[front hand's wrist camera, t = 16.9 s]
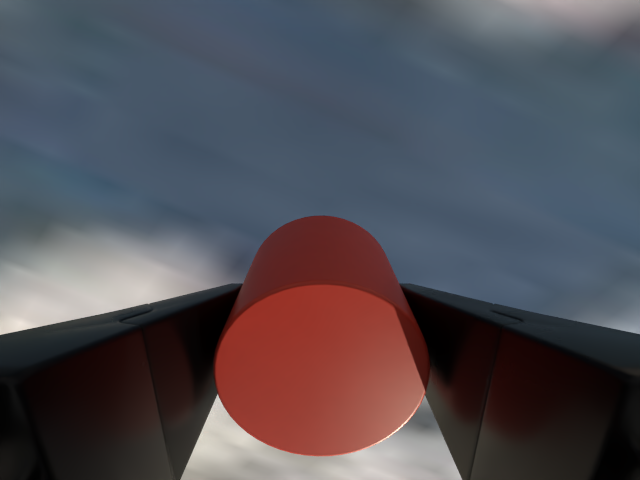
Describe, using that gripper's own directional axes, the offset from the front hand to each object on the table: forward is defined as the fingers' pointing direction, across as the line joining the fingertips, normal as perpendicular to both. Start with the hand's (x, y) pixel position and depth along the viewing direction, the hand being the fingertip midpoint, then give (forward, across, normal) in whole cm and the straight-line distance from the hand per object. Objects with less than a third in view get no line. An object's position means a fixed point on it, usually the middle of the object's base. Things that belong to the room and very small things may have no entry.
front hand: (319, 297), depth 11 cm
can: (+1, 0, 0) cm, 1 cm away
